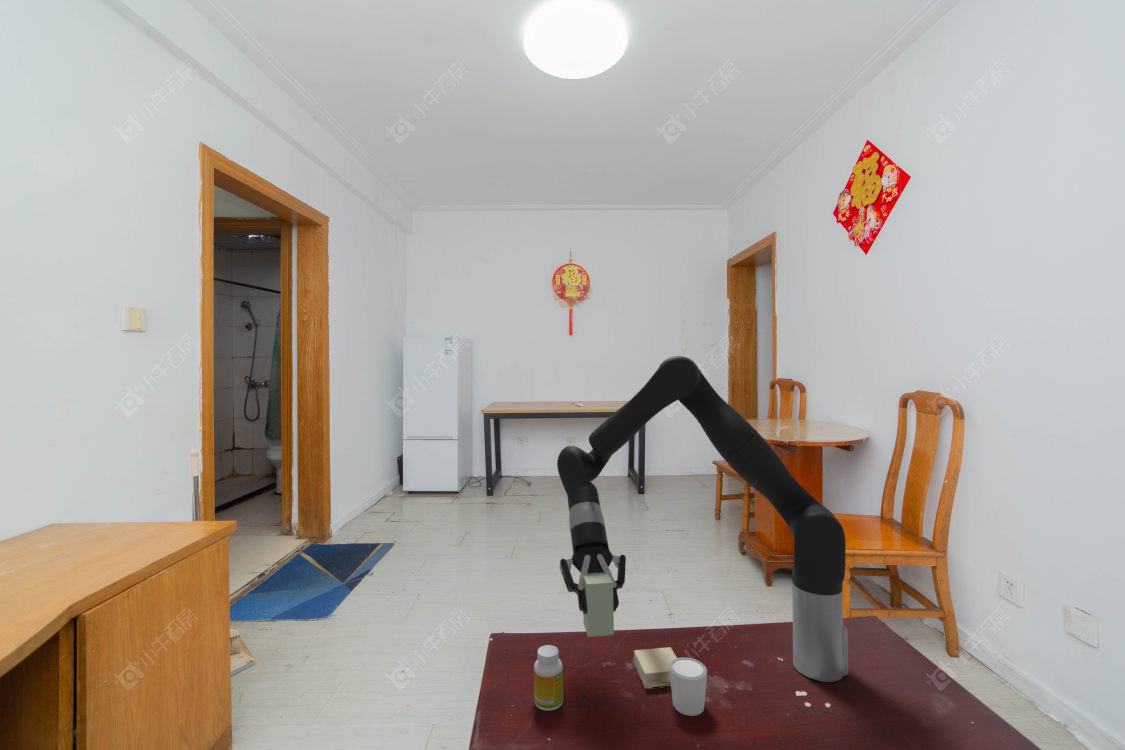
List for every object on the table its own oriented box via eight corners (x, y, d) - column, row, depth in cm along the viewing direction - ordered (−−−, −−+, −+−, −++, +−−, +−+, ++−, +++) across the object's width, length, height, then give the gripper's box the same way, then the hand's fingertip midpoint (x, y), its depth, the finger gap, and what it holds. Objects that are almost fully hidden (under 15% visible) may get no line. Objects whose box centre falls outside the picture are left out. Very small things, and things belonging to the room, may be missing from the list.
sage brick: (608, 621, 98) (607, 571, 98) (613, 634, 93) (612, 582, 93) (583, 623, 97) (582, 573, 97) (588, 637, 92) (586, 584, 92)
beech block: (670, 661, 104) (670, 647, 104) (684, 685, 96) (684, 669, 96) (634, 664, 103) (633, 650, 103) (645, 688, 95) (645, 673, 95)
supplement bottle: (559, 713, 89) (559, 660, 89) (531, 709, 90) (530, 657, 90) (565, 694, 94) (564, 644, 94) (538, 691, 95) (537, 641, 95)
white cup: (686, 723, 86) (686, 683, 86) (661, 700, 92) (661, 663, 92) (715, 710, 89) (715, 672, 89) (689, 688, 95) (689, 653, 95)
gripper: (555, 522, 101) (564, 607, 90) (622, 518, 103) (640, 601, 91) (553, 539, 107) (561, 621, 95) (617, 534, 109) (633, 615, 97)
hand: (599, 611), depth 93 cm, fingers closed on sage brick, 5 cm apart
